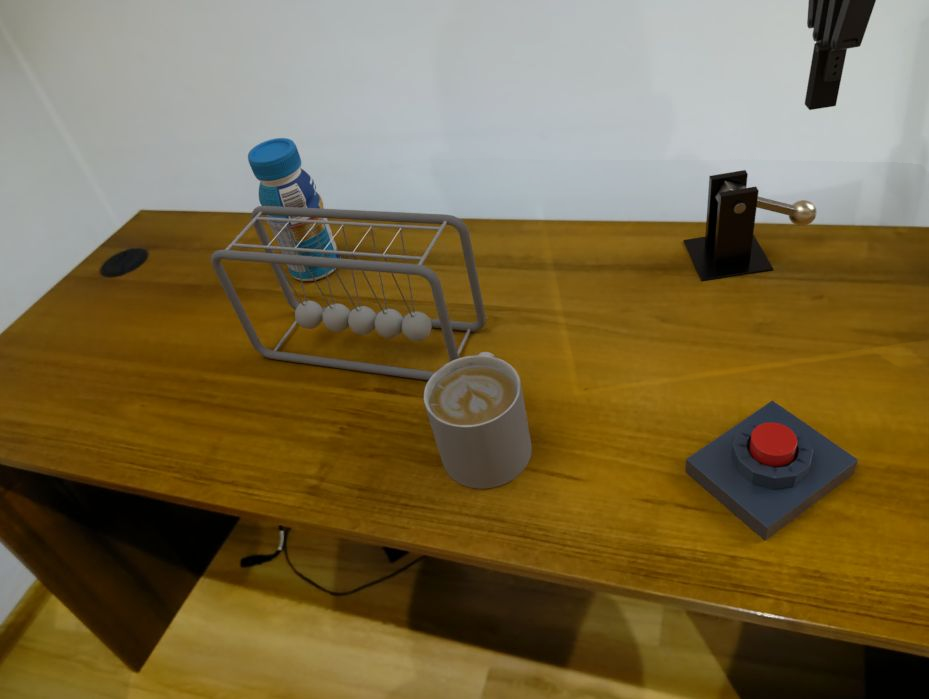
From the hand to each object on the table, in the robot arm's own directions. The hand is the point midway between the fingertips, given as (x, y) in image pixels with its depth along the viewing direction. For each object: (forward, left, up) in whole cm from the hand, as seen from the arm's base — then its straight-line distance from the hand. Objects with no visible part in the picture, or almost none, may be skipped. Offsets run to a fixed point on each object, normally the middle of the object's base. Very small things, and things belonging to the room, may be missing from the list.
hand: (820, 104), depth 77 cm
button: (+13, +31, -18) cm, 38 cm away
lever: (+3, -3, -16) cm, 16 cm away
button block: (+13, +31, -22) cm, 40 cm away
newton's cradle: (+55, +3, -22) cm, 60 cm away
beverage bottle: (+65, -17, -22) cm, 71 cm away
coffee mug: (+40, +22, -22) cm, 51 cm away
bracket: (+7, -3, -22) cm, 23 cm away
